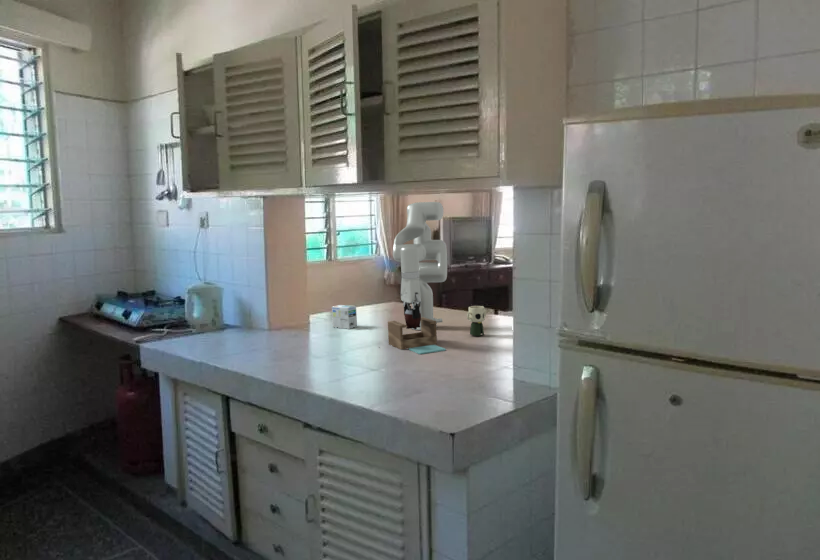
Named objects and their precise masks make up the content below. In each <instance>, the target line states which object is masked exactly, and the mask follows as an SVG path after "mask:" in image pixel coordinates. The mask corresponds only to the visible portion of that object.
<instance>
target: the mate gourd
mask: <svg viewBox="0 0 820 560" xmlns="http://www.w3.org/2000/svg"><path fill="white" fill-rule="evenodd" d="M399 294H400V296H401V295H402V294H401V292H400V293H399ZM406 303H407V302H406ZM407 306H408V308H409V309H407V310H406V312H405V316H404V319H405V321H404V322H405V325H407V327H405V328H406V329H407V330H409V329H411V328H414V329H417V328H418V327H420V321H421V313H420V318H416V319H413V317H412V309H413V307H411V309H410V307H409V305H408V303H407ZM414 329H413V330H414Z"/></svg>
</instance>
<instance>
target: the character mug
mask: <svg viewBox="0 0 820 560" xmlns="http://www.w3.org/2000/svg"><path fill="white" fill-rule="evenodd" d="M486 317H487V310H486V309H485V306H484V305H472V306H468V312H466V319H467V320H468V321H469V322H471V323H470V330H469V335H471V336H474V337H475V336H476V337H481V336H485V331H484V325H483V322H484V321H485V319H486Z"/></svg>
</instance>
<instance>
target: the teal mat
mask: <svg viewBox="0 0 820 560" xmlns="http://www.w3.org/2000/svg"><path fill="white" fill-rule="evenodd" d="M408 351H411V352H413V353H416V354H418V355H424V354H432V353H438V352H445V351H447V348H445V347H442V346H438V345H437V344H436V345H427V346H421V347H414V348H408Z"/></svg>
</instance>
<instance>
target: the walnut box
mask: <svg viewBox="0 0 820 560" xmlns="http://www.w3.org/2000/svg"><path fill="white" fill-rule="evenodd" d="M436 325H437V323H436V321H434V320H431V319H427V318H424V317H421V330H420V331H418V332H417V331H416V332H411V333H404V334H403V329H404V328H406V327H407V325H406V323H403V322H399V321H396V320H391V321H390V320H388V321H387V334H388V339H387V340H388V345H389V346H391V345H392V347H394V348H397V349H399V350H401V351H402V350H406V349H407V350H409V348H414V347H421V346H427V345H437V344H438V339H437V337H438V336H437V328H436Z"/></svg>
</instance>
